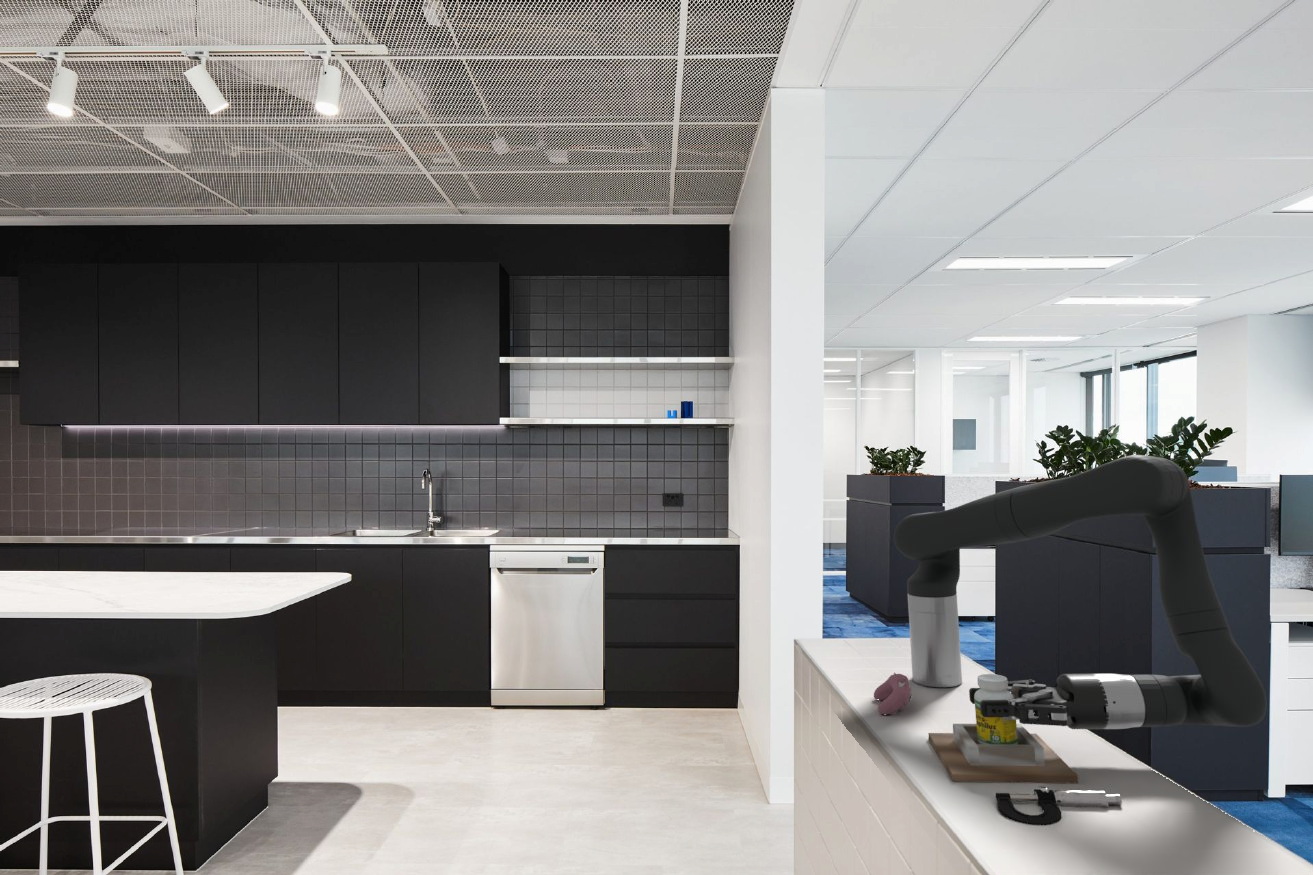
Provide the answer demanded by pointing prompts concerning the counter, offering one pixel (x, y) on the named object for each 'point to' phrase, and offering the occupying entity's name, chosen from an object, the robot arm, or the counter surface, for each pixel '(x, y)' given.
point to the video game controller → (893, 694)
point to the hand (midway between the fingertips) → (975, 702)
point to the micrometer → (1053, 803)
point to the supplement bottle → (994, 727)
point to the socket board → (999, 758)
